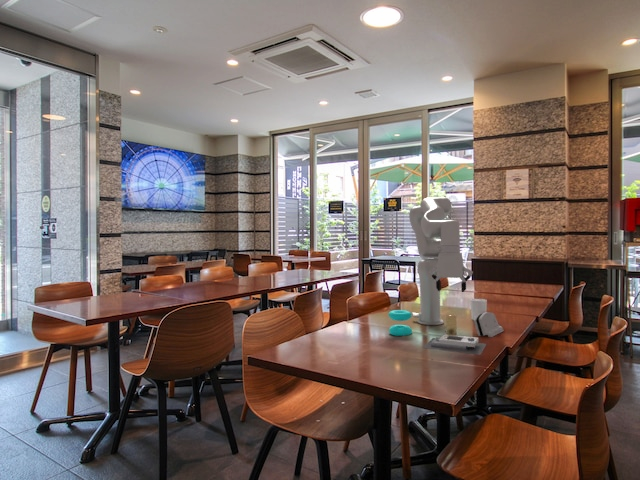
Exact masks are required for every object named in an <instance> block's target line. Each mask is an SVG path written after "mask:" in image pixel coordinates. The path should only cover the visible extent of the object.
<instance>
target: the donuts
mask: <svg viewBox="0 0 640 480" xmlns="http://www.w3.org/2000/svg"><path fill="white" fill-rule="evenodd" d="M388 317H389V319H390V320H393V321H396V322H397V321H399V322H404V321H405V322H406V321H409V320H410V319H411V318H412V317H413V316H412V312H410V311H408V310H405V309H404V310H403V309H394V310H390V311H389V312H388ZM388 332H389V334H390V335H392V336H395V337H403V336H410V335H411V334H413V329H412V328H411V327H410V326H409V325H406V324H405V325H404V324H394V325H391V326H390V327H389V328H388Z"/></svg>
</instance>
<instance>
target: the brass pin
mask: <svg viewBox="0 0 640 480" xmlns="http://www.w3.org/2000/svg"><path fill="white" fill-rule="evenodd" d="M445 319H446V324H445V325H446V327H445V328H446V331H445V332H446V334H447V335H457V336H458V334H457V332H458V331H457V315H456V314H446V315H445Z"/></svg>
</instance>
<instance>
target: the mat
mask: <svg viewBox="0 0 640 480" xmlns="http://www.w3.org/2000/svg"><path fill="white" fill-rule="evenodd" d="M435 338H436V337H433V338H431V339H430V340H429V341H428V342H427V343H425V344H424V346H422V348H423V349H428V350H436V351H445V352H453V353H461V354H469V355H470V354H471V355H477V356H479V355H482V353H483V352H484V350H485V348H486V346H487V343H481V342H478V343H477V345H476V346H475V347H474V348H473V349H471V348H468V349H467V350H459V349H450V348H442V347H433V346H431V342H432V341H433V340H434V339H435Z"/></svg>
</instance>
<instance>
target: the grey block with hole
mask: <svg viewBox="0 0 640 480" xmlns="http://www.w3.org/2000/svg"><path fill="white" fill-rule="evenodd" d="M434 338H435V339H434V340H433V341H432V342H431V346H433V347H442V348H450V349H459V350H467V349H468V348H471V349H473V348H474V347H475V346H476V345H477V343H479V337H475V336H468V335H467V336H465V335H458V334H457V335H447V333H446V334H442V336H441V337H440V336H436V337H434Z"/></svg>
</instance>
